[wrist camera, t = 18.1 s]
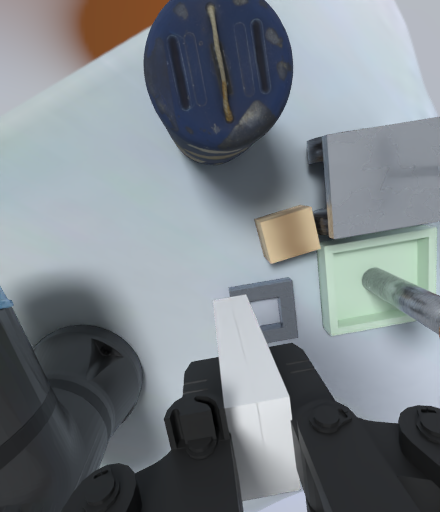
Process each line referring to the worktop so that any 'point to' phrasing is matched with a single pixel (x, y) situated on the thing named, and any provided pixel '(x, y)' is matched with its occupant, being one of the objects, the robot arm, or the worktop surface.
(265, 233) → the block
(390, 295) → the pin
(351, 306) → the tray
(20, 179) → the worktop surface
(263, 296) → the collar
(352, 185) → the trolley
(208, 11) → the canister
